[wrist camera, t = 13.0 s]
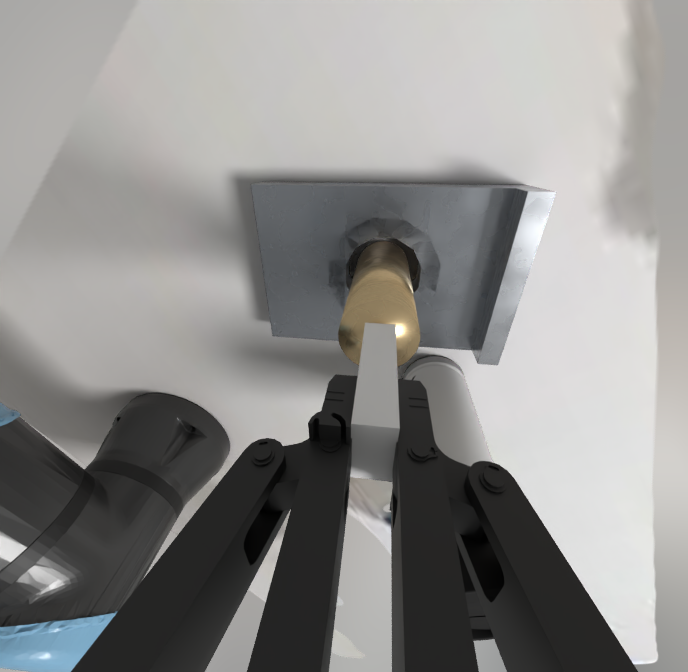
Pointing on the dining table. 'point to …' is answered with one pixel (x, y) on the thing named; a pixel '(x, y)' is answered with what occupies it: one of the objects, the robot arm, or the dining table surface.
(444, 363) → the travel mug
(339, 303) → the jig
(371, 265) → the gold metal cylinder
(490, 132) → the dining table surface
